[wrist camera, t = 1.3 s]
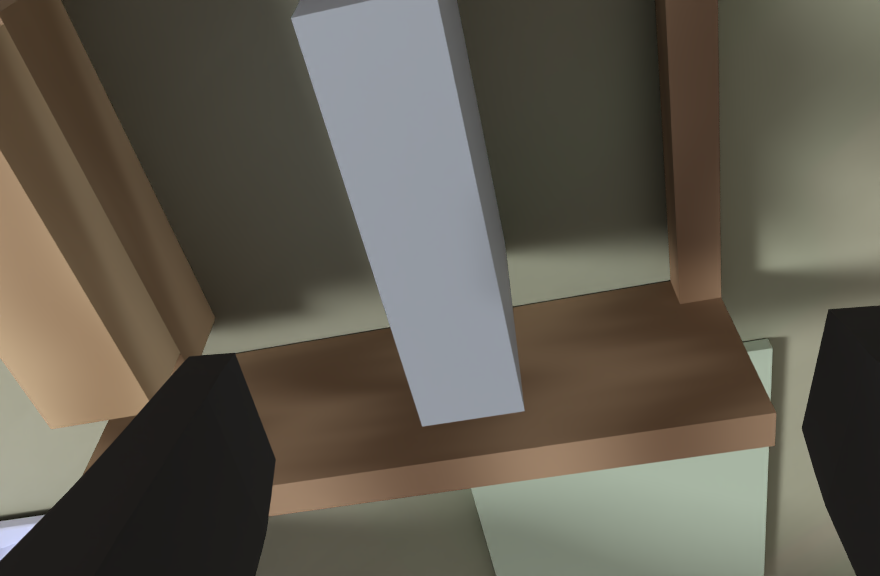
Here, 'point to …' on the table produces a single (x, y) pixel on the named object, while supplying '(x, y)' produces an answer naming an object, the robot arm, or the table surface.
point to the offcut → (81, 237)
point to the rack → (543, 354)
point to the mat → (637, 515)
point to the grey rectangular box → (420, 194)
